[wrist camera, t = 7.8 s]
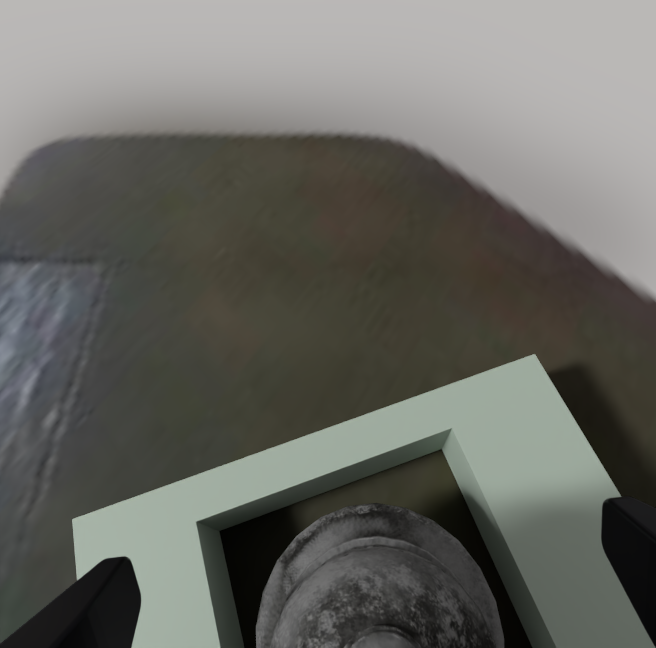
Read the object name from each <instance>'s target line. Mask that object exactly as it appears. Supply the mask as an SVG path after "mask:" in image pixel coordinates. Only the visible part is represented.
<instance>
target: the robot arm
mask: <svg viewBox="0 0 656 648" xmlns="http://www.w3.org/2000/svg"><path fill="white" fill-rule="evenodd" d="M601 542H602V546H603V550H604V552H605V554H606V556H607V558H608V560H609V562H610V564H611V566H612V568H613V570H614V572H615V573H616V575H617V577H618V579H619V581H620V583H621V585H622V587H623V589H624V590H625V592H626V594H627V596H628V598H629V600H630V602H631V604H632V606H633V608H634V609H635V611H636V613H637V615H638V617H639V619H640V621H641V623H642V625H643V626H644V628H645V630H646V632H647V634H648V635H649V637H650V639H651V641H652V643H653V644H654V646H655V648H656V508H654V507H652V506H650V505H648V504H646V503H643V502H641V501H639V500H637V499H635V498H632V497H629V496H623V497H614V498H607V499H606V500H604V502H603V504H602V523H601ZM140 609H141V592H140V589H139V585H138V582H137V578H136V575H135V571H134V568H133V565H132V562H131V560H130V559H129V558H128V557H126V556H121V557H113V558H106V559H104V560H102V561H101V562H99V563H98V564H97V565H96V566H94V567H93V568H92V569H91V570H90V571H88V572H87V573H86V574H85V575H83V576H82V577H81V578H80V579H79V580H77V581H76V582H75V583H74V584H72V585H71V586H70V587H69V588H68V589H66V590H65V591H64V592H63V593H62V594H60V595H59V596H58V597H57V598H55V599H54V600H53V601H52V602H51V603H49V604H48V605H47V606H46V607H44V608H43V609H42V610H41V611H40V612H38V613H37V614H36V615H35V616H33V617H32V618H31V619H30V620H29V621H27V622H26V623H25V624H24V625H22V626H21V627H20V628H19V629H18V630H16V631H15V632H14V633H13V634H11V635H10V636H9V637H8V638H7V639H5V640H4V641H3V642H2V643H0V648H132V643H133V639H134V635H135V630H136V626H137V622H138V617H139V613H140Z"/></svg>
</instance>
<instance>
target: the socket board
mask: <svg viewBox="0 0 656 648" xmlns="http://www.w3.org/2000/svg"><path fill="white" fill-rule="evenodd" d="M440 449H442V451H443V453H444V455H445V457H446V459H447V461H448V464H449V466H450V468H451V470H452V472H453V475H454V477H455V479H456V481H457V483H458V486H459V488H460V490H461V492H462V494H463V497H464V499H465V501H466V503H467V505H468V508H469V510H470V512H471V514H472V516H473V518H474V521H475V523H476V525H477V527H478V529H479V532H480V534H481V536H482V538H483V540H484V543H485V545H486V547H487V549H488V551H489V554H490V556H491V558H492V560H493V562H494V565H495V567H496V569H497V571H498V573H499V575H500V578H501V580H502V582H503V584H504V586H505V589H506V591H507V593H508V595H509V597H510V600H511V602H512V604H513V606H514V608H515V611H516V613H517V615H518V617H519V619H520V621H521V624H522V626H523V628H524V630H525V632H526V635H527V637H528V639H529V641H530V643H531V646H532V648H655V646H654V644H653V643H652V641H651V639H650V637H649V635H648V634H647V632H646V630H645V628H644V626H643V625H642V623H641V621H640V619H639V617H638V615H637V613H636V611H635V609H634V608H633V606H632V604H631V602H630V600H629V598H628V596H627V594H626V592H625V590H624V589H623V587H622V585H621V583H620V581H619V579H618V577H617V575H616V573H615V572H614V570H613V568H612V566H611V564H610V562H609V560H608V558H607V556H606V554H605V552H604V550H603V546H602V542H601V523H602V504H603V502H604V500H606V499H607V498H614V497H621V495H620V493H619V492H618V490H617V489H616V487H615V485H614V484H613V482H612V480H611V479H610V477H609V475H608V474H607V472H606V470H605V469H604V467H603V465H602V464H601V462H600V461H599V459H598V457H597V456H596V454H595V452H594V451H593V449H592V447H591V446H590V444H589V442H588V441H587V439H586V437H585V436H584V434H583V433H582V431H581V429H580V428H579V426H578V424H577V423H576V421H575V419H574V418H573V416H572V414H571V413H570V411H569V409H568V408H567V406H566V405H565V403H564V401H563V400H562V398H561V396H560V395H559V393H558V391H557V390H556V388H555V386H554V385H553V383H552V382H551V380H550V378H549V377H548V375H547V373H546V372H545V370H544V368H543V367H542V365H541V363H540V362H539V360H538V358H537V357H536V355H535V354H533V355H530V356H528V357H525V358H522V359H519V360H516V361H514V362H511V363H508V364H505V365H502V366H500V367H497V368H494V369H491V370H488V371H486V372H483V373H480V374H477V375H474V376H472V377H469V378H466V379H463V380H460V381H458V382H455V383H452V384H449V385H446V386H444V387H441V388H438V389H435V390H432V391H430V392H427V393H424V394H421V395H419V396H416V397H413V398H410V399H407V400H405V401H402V402H399V403H396V404H393V405H391V406H388V407H385V408H382V409H379V410H377V411H374V412H371V413H368V414H365V415H363V416H360V417H357V418H354V419H351V420H349V421H346V422H343V423H340V424H337V425H335V426H332V427H329V428H326V429H323V430H321V431H318V432H315V433H312V434H309V435H307V436H304V437H301V438H298V439H295V440H293V441H290V442H287V443H284V444H281V445H279V446H276V447H273V448H270V449H267V450H265V451H262V452H259V453H256V454H253V455H251V456H248V457H245V458H242V459H239V460H237V461H234V462H231V463H228V464H225V465H223V466H220V467H217V468H214V469H212V470H209V471H206V472H203V473H200V474H198V475H195V476H192V477H189V478H186V479H184V480H181V481H178V482H175V483H172V484H170V485H167V486H164V487H161V488H158V489H156V490H153V491H150V492H147V493H144V494H142V495H139V496H136V497H133V498H130V499H128V500H125V501H122V502H119V503H116V504H114V505H111V506H108V507H105V508H102V509H100V510H97V511H94V512H91V513H88V514H86V515H83V516H80V517H77V518H74V519H72V522H73V535H74V548H75V560H76V573H77V580H79V579H80V578H81V577H82V576H83V575H85V574H86V573H87V572H88V571H90V570H91V569H92V568H93V567H94V566H96V565H97V564H98V563H99V562H101V561H102V560H104V559H106V558H113V557H121V556H126V557H128V558H129V559H130V560H131V562H132V565H133V568H134V571H135V575H136V578H137V582H138V585H139V589H140V592H141V609H140V613H139V617H138V622H137V626H136V630H135V635H134V639H133V643H132V648H244V643H243V639H242V634H241V629H240V625H239V620H238V616H237V611H236V606H235V602H234V597H233V592H232V588H231V583H230V578H229V574H228V569H227V564H226V560H225V555H224V550H223V546H222V541H221V537H220V532H219V531H221V530H224V529H226V528H229V527H232V526H234V525H237V524H240V523H242V522H245V521H248V520H251V519H253V518H256V517H259V516H261V515H264V514H267V513H270V512H272V511H275V510H278V509H280V508H283V507H286V506H289V505H291V504H294V503H297V502H299V501H302V500H305V499H307V498H310V497H313V496H316V495H318V494H321V493H324V492H326V491H329V490H332V489H335V488H337V487H340V486H343V485H345V484H348V483H351V482H354V481H356V480H359V479H362V478H364V477H367V476H370V475H373V474H375V473H378V472H381V471H383V470H386V469H389V468H391V467H394V466H397V465H400V464H402V463H405V462H408V461H410V460H413V459H416V458H419V457H421V456H424V455H427V454H429V453H432V452H435V451H438V450H440Z"/></svg>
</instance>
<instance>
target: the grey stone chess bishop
mask: <svg viewBox="0 0 656 648" xmlns="http://www.w3.org/2000/svg"><path fill="white" fill-rule="evenodd" d="M256 648H504V635H503V631H502V627H501V622H500V618H499V613H498V609H497V604H496V601H495V598H494V596H493V594H492V592H491V590H490V588H489V586H488V584H487V582H486V579H485V577H484V575H483V573H482V571H481V569H480V567H479V566H478V565H477V563H476V562H475V561H474V560H473V558H472V557H471V556H470V554H469V553H468V552H467V551H466V549H465V548H464V547H463V546H462V544H461V543H460V542H459V541H458V540H457V539H456V538H455V537H453V536H452V535H451V534H450V533H448V532H447V531H446V530H445V529H443V528H442V527H441V526H440V525H438V524H437V523H436V522H435V521H433V520H431V519H429V518H427V517H425V516H422V515H420V514H418V513H416V512H413V511H411V510H409V509H407V508H403V507H397V506H391V505H385V504H379V503H373V504H364V505H355V506H347V507H345V508H342V509H340V510H337V511H335V512H332V513H330V514H328V515H325V516H323V517H320V518H319V519H318V520H316V521H315V522H314V523H313V524H311V525H310V526H309V527H307V528H306V529H305V530H303V531H302V532H301V533H300V534H298V535H297V536H296V537H295V538H294V540H293V541H292V542H291V544H290V545H289V546H288V547H287V549H286V550H285V551H284V553H283V554H282V555H281V556H280V558H279V559H278V560H277V562H276V564H275V566H274V569H273V571H272V573H271V575H270V577H269V580H268V582H267V584H266V586H265V589H264V591H263V594H262V599H261V604H260V609H259V614H258V619H257V624H256Z"/></svg>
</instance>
